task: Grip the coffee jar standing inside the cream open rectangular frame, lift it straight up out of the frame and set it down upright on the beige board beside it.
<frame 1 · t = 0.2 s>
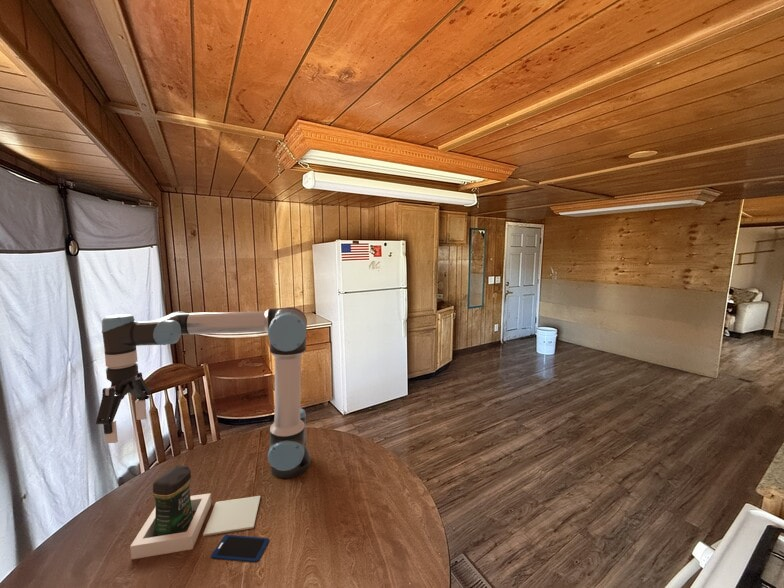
hand: (127, 430, 101), 28 cm above the table, tool pointing down, fingers open, 13 cm apart
coffee jar: (175, 529, 98), resting in cream open rectangular frame
cream open rectangular frame: (175, 529, 98), on the table
cell phone: (240, 550, 92), on the table
beige board: (234, 515, 103), on the table
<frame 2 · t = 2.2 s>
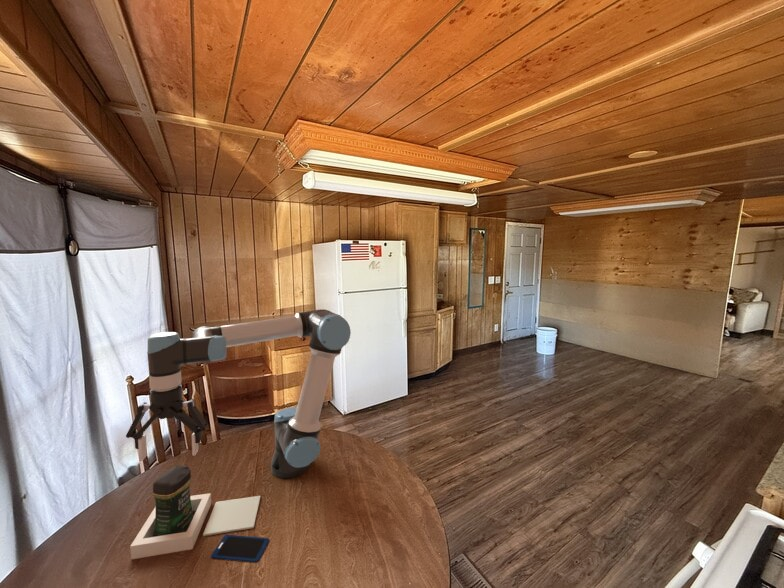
hand: (169, 455, 95), 24 cm above the table, tool pointing down, fingers open, 13 cm apart
nothing on the table moved.
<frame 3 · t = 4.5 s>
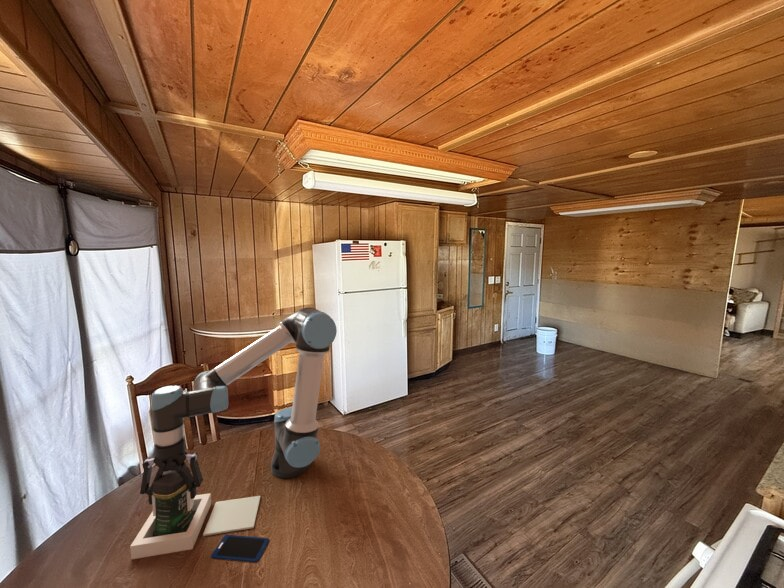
hand: (173, 509, 97), 6 cm above the table, tool pointing down, fingers closed on coffee jar, 8 cm apart
coffee jar: (175, 529, 98), resting in cream open rectangular frame, touching gripper
everything else where it was.
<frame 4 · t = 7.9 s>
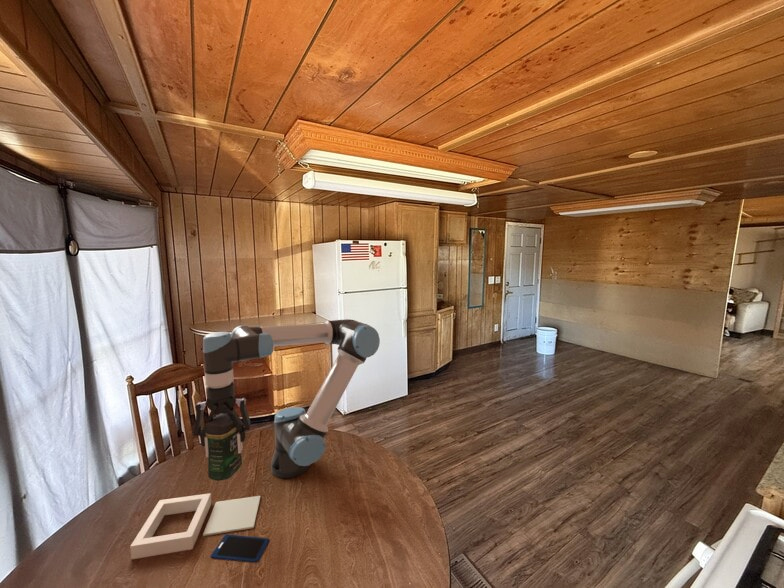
hand: (224, 452, 100), 22 cm above the table, tool pointing down, fingers closed on coffee jar, 8 cm apart
coffee jar: (226, 472, 101), point 15 cm above the table, touching gripper
everything else where it was.
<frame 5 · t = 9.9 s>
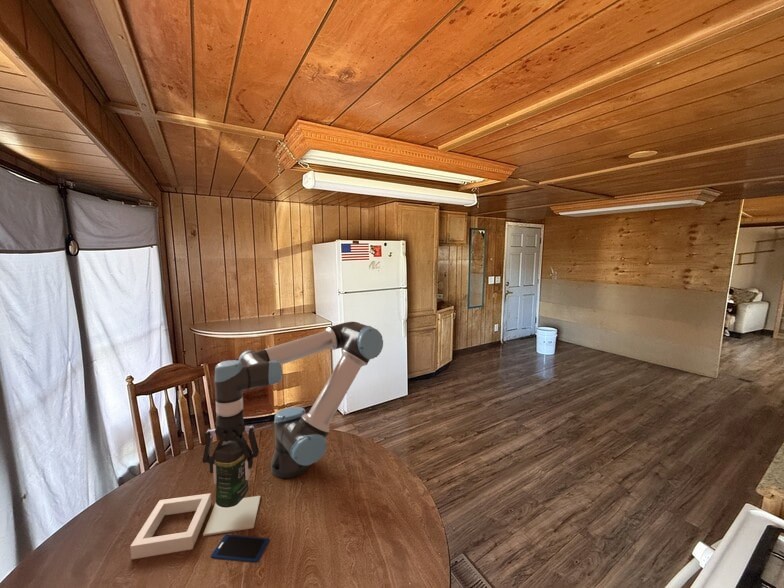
hand: (232, 479, 102), 13 cm above the table, tool pointing down, fingers closed on coffee jar, 8 cm apart
coffee jar: (233, 498, 103), point 6 cm above the table, touching gripper
everything else where it was.
when the fingers open (8 cm above the table, at t = 11.6 s): coffee jar drops 1 cm, resting on beige board.
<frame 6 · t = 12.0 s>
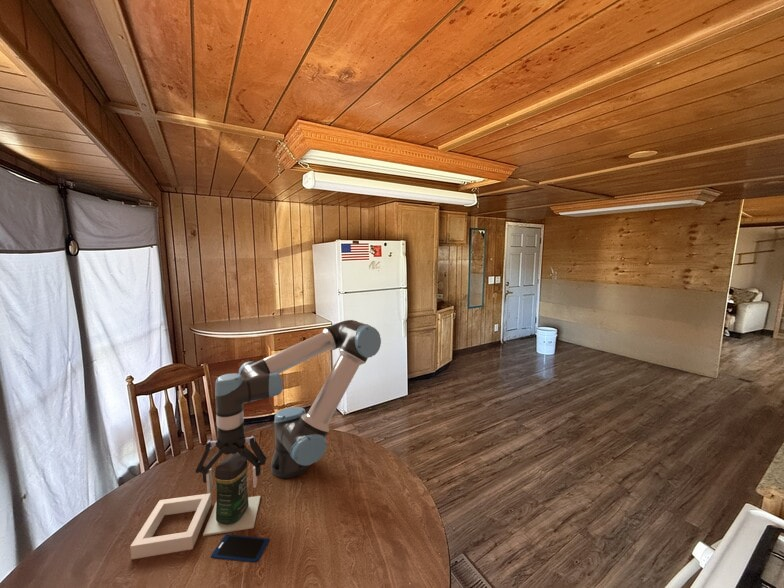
hand: (232, 487, 102), 10 cm above the table, tool pointing down, fingers open, 13 cm apart
coffee jar: (233, 514, 103), resting on beige board
everything else where it was.
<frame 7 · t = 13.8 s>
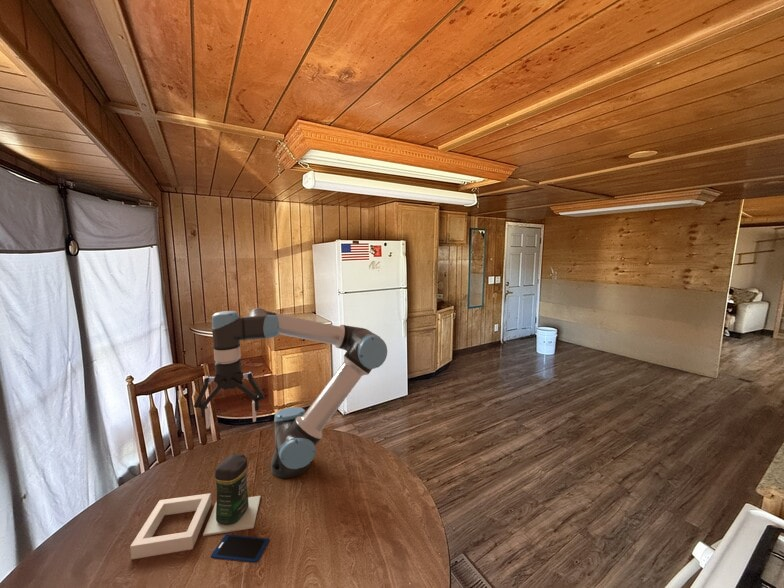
hand: (232, 423, 105), 29 cm above the table, tool pointing down, fingers open, 13 cm apart
nothing on the table moved.
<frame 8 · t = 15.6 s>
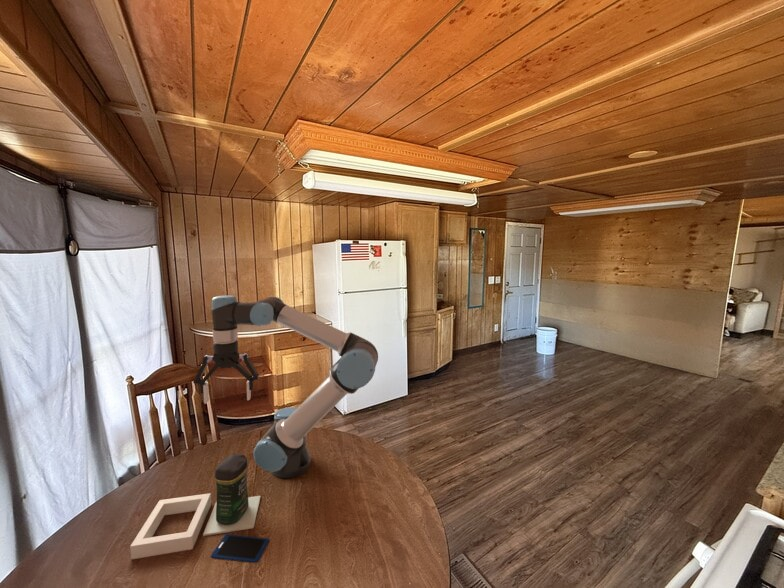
hand: (228, 400, 112), 33 cm above the table, tool pointing down, fingers open, 13 cm apart
nothing on the table moved.
at the end: coffee jar inside the target area (0.2 cm from its centre), resting on beige board; coffee jar tilted 0°; the gripper is holding nothing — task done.
